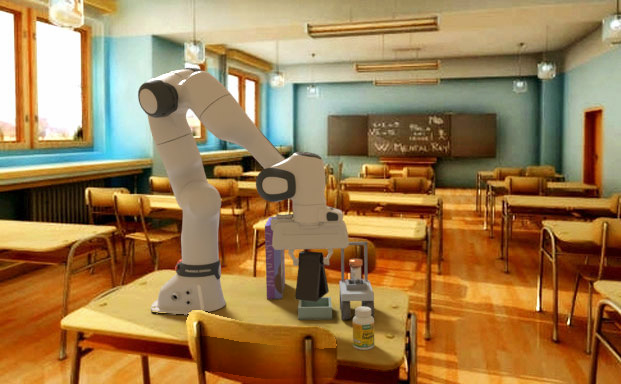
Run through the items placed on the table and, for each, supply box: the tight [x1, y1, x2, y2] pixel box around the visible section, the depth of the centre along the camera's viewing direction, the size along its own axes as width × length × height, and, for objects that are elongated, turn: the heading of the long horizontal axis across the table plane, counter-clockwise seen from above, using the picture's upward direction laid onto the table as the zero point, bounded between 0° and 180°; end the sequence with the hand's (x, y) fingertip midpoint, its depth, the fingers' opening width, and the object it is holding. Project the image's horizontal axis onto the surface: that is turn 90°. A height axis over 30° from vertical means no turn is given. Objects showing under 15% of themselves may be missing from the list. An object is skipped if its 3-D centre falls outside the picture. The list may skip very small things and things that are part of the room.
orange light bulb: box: [348, 258, 363, 284], centre depth 156 cm, size 4×4×8 cm
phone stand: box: [294, 250, 330, 302], centre depth 144 cm, size 9×6×12 cm, turn 156°
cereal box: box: [264, 215, 286, 300], centre depth 180 cm, size 17×5×24 cm, turn 179°
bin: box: [297, 296, 333, 321], centre depth 158 cm, size 10×10×4 cm
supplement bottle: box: [352, 306, 375, 351], centre depth 134 cm, size 5×5×10 cm
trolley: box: [339, 241, 375, 320], centre depth 156 cm, size 9×14×20 cm, turn 0°
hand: (311, 265), depth 143 cm, fingers closed on phone stand, 7 cm apart
